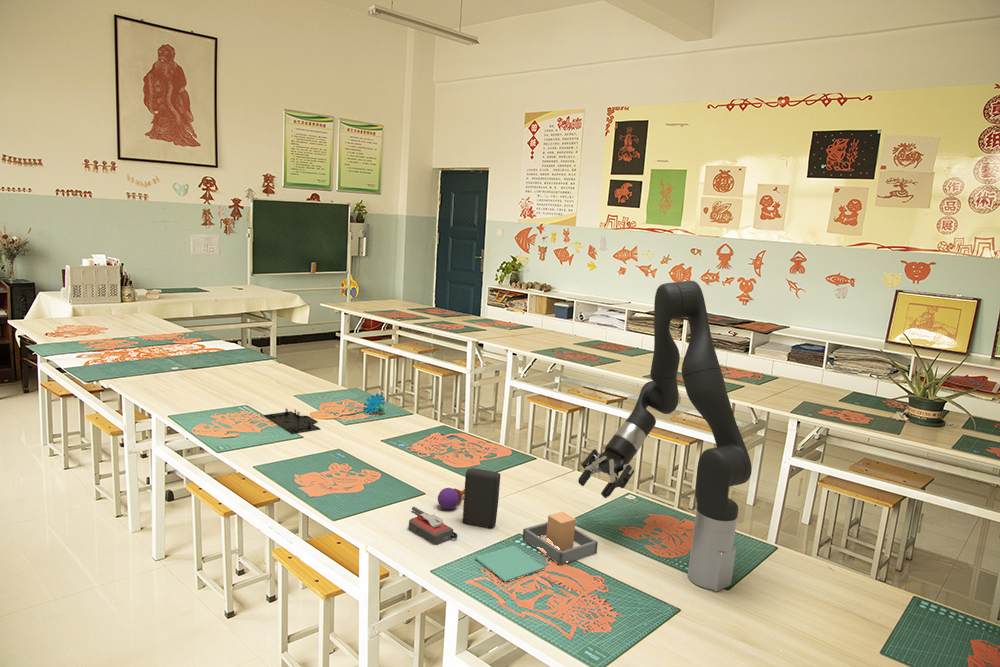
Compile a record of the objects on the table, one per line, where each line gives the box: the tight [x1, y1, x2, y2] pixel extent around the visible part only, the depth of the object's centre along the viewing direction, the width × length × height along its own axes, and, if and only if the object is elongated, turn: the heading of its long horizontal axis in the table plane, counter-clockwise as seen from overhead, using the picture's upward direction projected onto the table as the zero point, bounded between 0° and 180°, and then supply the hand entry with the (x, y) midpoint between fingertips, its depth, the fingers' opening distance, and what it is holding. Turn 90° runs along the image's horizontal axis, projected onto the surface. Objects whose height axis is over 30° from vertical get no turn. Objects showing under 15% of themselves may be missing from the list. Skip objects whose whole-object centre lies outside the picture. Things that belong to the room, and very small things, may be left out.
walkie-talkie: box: [408, 506, 458, 546], centre depth 170 cm, size 9×4×20 cm
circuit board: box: [263, 408, 321, 435], centre depth 246 cm, size 25×14×3 cm, turn 43°
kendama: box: [437, 487, 465, 510], centre depth 189 cm, size 6×6×20 cm
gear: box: [362, 393, 387, 415], centre depth 267 cm, size 11×6×10 cm
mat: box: [474, 545, 546, 583], centre depth 155 cm, size 12×12×1 cm
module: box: [545, 511, 577, 551], centre depth 165 cm, size 5×5×8 cm
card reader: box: [462, 467, 501, 529], centre depth 174 cm, size 9×4×15 cm, turn 77°
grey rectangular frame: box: [522, 521, 599, 566], centre depth 166 cm, size 15×13×3 cm
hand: (591, 490), depth 170 cm, fingers open, 8 cm apart
